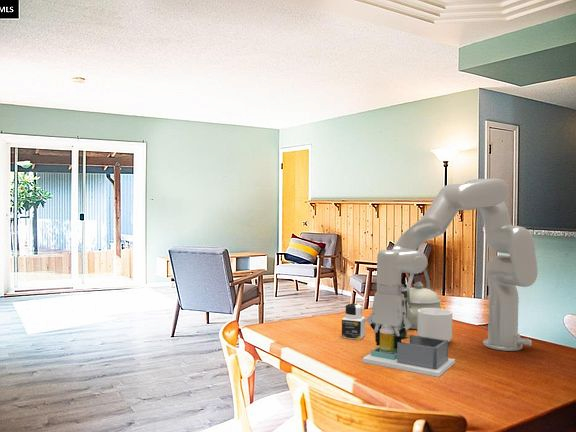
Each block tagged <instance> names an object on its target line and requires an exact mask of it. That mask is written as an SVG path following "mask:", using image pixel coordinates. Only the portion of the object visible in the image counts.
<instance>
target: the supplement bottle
mask: <svg viewBox="0 0 576 432" xmlns="http://www.w3.org/2000/svg"><path fill="white" fill-rule="evenodd" d="M395 336H396V332H395V329H394V327H393V326H389V325H382V328H381V329H380V345H379V346H380V347H379V346H378V347H379V349H380V352H383V353H388V354H394V353H396V352H397V349H395V348H394V337H395Z"/></svg>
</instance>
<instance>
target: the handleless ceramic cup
mask: <svg viewBox="0 0 576 432" xmlns="http://www.w3.org/2000/svg"><path fill="white" fill-rule="evenodd" d="M416 330H417V331H416V332H417V335H416V336H422V337H428V338H435V339H441V340H448V343H450V342H451V341H452V338H453V312H452V310H448V309H445V308H441V309H438V308H422V309H419V310H418V324H417V329H416Z"/></svg>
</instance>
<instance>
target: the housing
mask: <svg viewBox="0 0 576 432" xmlns="http://www.w3.org/2000/svg"><path fill="white" fill-rule="evenodd" d="M448 358H449V342H448V340H441V339H435V338H428V337H422V336H418V335H415V334H409V342H404V341H401V342H397V362H400V363H405V364H410V365H416V366H421V367H426V368H432V369H437V368H439V367H440V366H441V365H442V364H443V363H445V362H446V361H447V360H448Z"/></svg>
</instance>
